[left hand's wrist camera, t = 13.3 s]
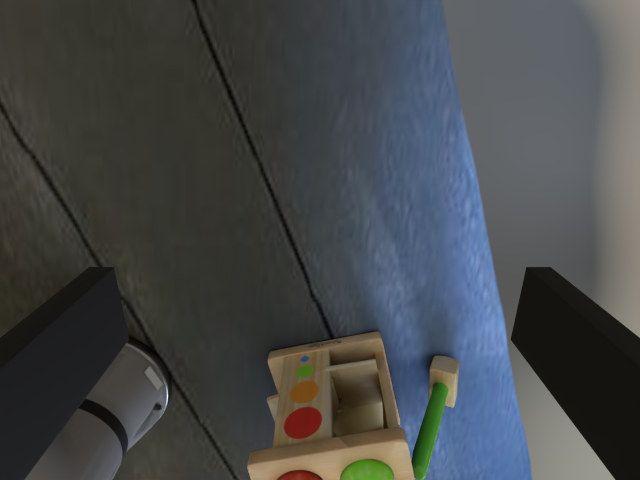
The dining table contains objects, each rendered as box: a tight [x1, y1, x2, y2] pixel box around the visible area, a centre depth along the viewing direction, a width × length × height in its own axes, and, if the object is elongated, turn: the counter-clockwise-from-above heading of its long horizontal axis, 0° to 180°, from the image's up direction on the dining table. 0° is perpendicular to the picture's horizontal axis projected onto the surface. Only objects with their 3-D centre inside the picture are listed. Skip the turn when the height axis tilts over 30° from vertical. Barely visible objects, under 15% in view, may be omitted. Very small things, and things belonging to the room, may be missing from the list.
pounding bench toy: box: [247, 331, 459, 480], centre depth 42 cm, size 23×14×18 cm, turn 103°
